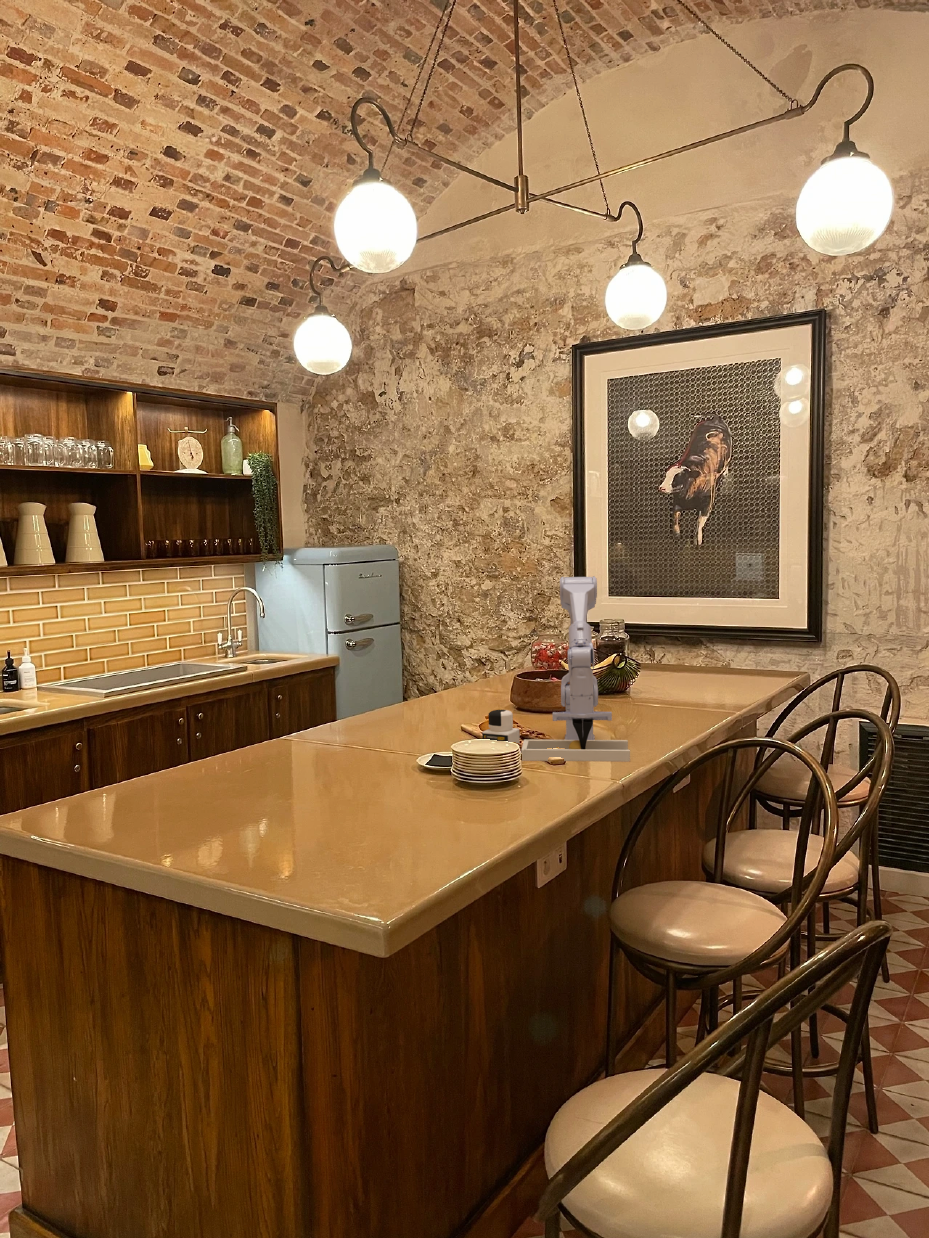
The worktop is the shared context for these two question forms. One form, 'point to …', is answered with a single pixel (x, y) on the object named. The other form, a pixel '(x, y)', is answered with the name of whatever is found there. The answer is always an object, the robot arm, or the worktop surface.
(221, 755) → the worktop surface
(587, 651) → the robot arm
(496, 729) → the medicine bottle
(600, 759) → the lane
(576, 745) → the ball
